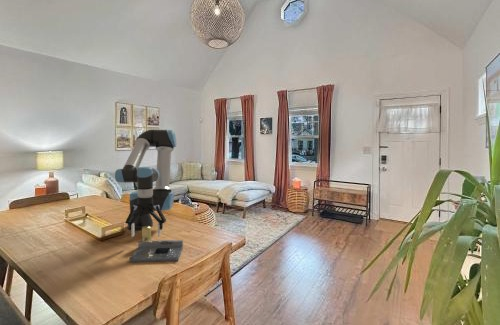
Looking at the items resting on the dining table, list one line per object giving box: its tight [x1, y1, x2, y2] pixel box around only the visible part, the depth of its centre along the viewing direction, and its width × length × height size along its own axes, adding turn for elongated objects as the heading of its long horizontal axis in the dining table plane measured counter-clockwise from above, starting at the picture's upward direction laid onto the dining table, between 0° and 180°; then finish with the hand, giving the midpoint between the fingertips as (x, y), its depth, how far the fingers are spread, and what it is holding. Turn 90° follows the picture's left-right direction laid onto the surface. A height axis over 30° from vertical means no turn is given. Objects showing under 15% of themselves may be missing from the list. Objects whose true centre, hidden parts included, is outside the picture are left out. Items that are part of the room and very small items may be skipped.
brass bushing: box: [141, 226, 152, 241], centre depth 137 cm, size 4×4×10 cm
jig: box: [128, 239, 184, 263], centre depth 126 cm, size 22×14×4 cm, turn 95°
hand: (146, 235), depth 136 cm, fingers open, 13 cm apart
